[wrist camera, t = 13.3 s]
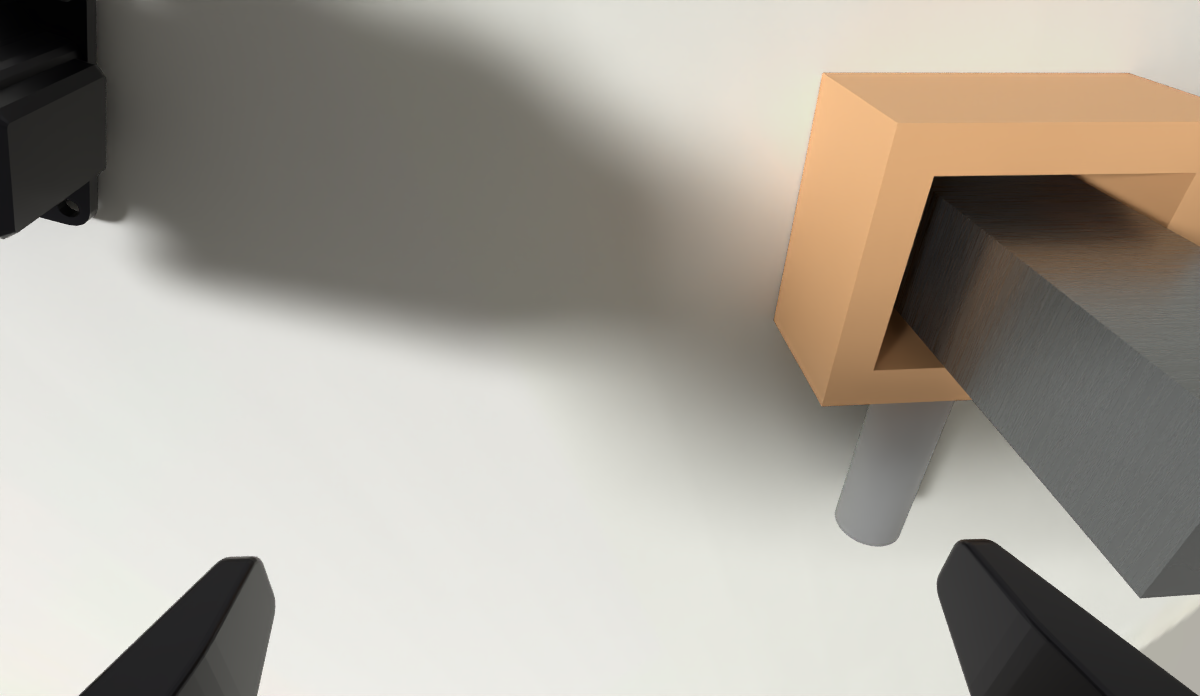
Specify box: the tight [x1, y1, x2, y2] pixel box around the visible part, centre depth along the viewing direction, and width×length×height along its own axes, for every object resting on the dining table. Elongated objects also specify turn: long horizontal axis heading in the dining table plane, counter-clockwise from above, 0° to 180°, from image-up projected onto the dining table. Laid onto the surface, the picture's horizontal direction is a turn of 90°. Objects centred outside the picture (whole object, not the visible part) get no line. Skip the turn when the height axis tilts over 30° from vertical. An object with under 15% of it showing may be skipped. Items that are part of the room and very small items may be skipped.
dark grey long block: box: [893, 174, 1200, 598], centre depth 16 cm, size 4×4×12 cm
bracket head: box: [774, 73, 1200, 546], centre depth 21 cm, size 18×16×6 cm
